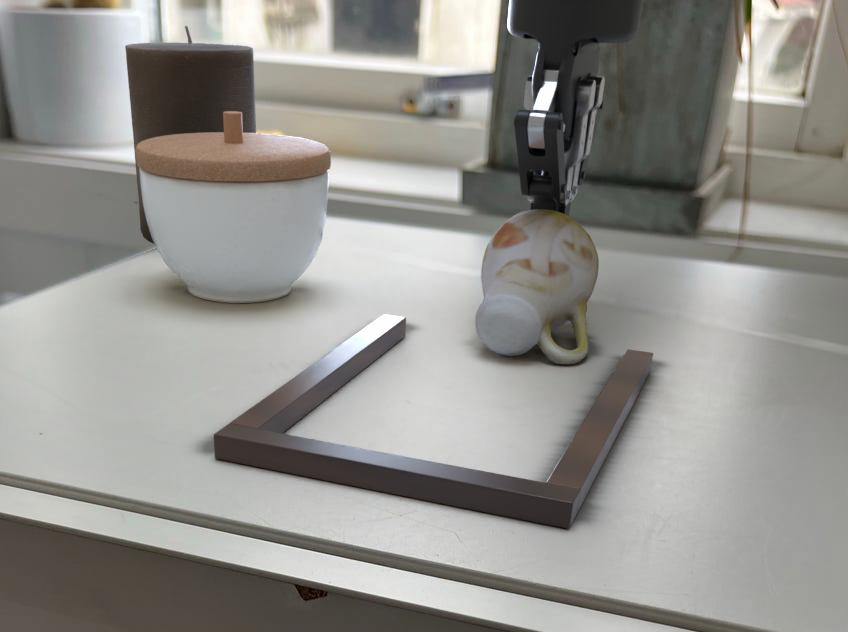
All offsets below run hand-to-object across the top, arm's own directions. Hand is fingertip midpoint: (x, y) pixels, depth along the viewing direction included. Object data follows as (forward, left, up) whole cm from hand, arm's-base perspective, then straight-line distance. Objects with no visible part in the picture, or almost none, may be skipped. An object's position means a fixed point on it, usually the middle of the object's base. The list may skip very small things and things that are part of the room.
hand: (543, 263), depth 66 cm
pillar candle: (-1, -32, -4) cm, 32 cm away
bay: (+18, +5, -3) cm, 19 cm away
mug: (+6, +2, -4) cm, 7 cm away
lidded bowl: (+9, -19, -4) cm, 21 cm away
